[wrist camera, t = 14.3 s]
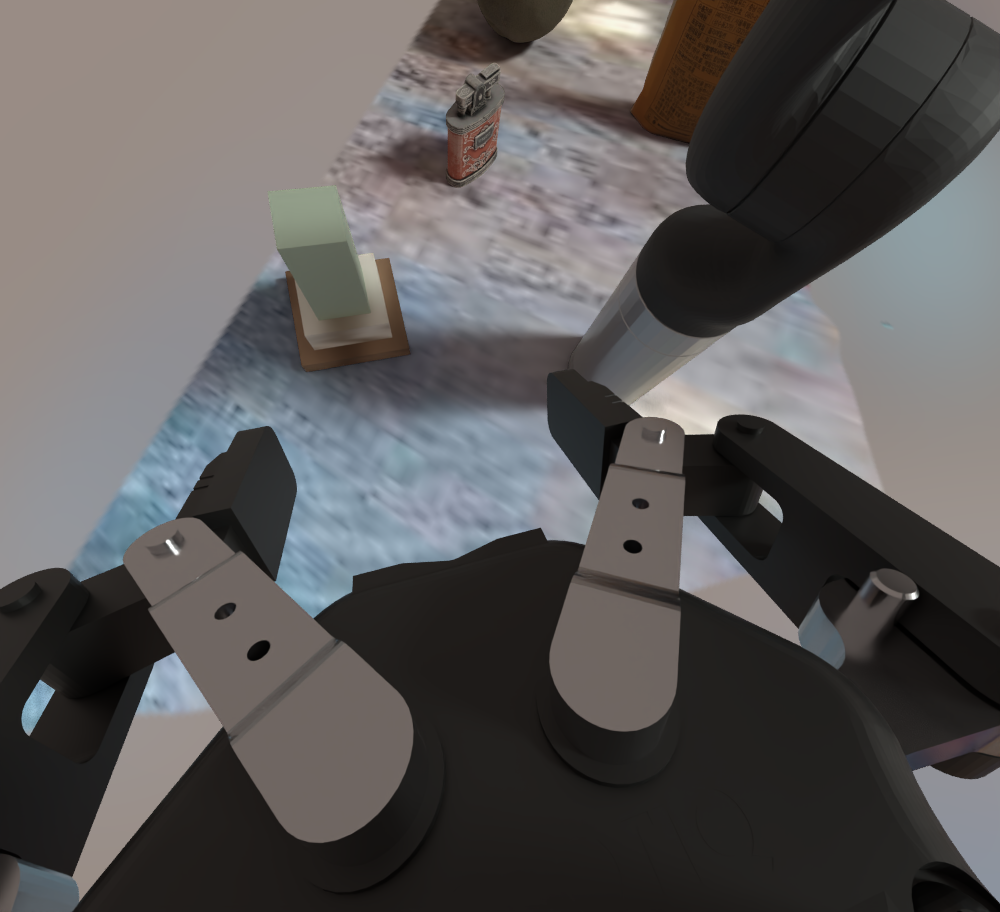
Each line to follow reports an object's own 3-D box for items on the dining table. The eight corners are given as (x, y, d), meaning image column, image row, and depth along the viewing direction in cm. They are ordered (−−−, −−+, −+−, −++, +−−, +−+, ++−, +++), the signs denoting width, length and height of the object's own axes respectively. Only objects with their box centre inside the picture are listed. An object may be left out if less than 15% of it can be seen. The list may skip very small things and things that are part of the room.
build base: (390, 266, 47) (385, 238, 42) (410, 354, 45) (406, 334, 40) (290, 280, 45) (273, 252, 40) (306, 372, 43) (290, 353, 39)
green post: (361, 268, 41) (335, 185, 32) (370, 313, 40) (346, 241, 31) (310, 275, 40) (267, 191, 31) (318, 320, 40) (277, 249, 30)
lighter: (460, 193, 50) (463, 109, 40) (439, 175, 50) (437, 87, 40) (502, 156, 52) (515, 68, 42) (482, 140, 52) (490, 48, 42)
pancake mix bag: (747, 170, 57) (1026, -173, 29) (617, 135, 55) (785, -263, 28) (749, 132, 58) (1015, -228, 31) (622, 97, 56) (785, -317, 29)
